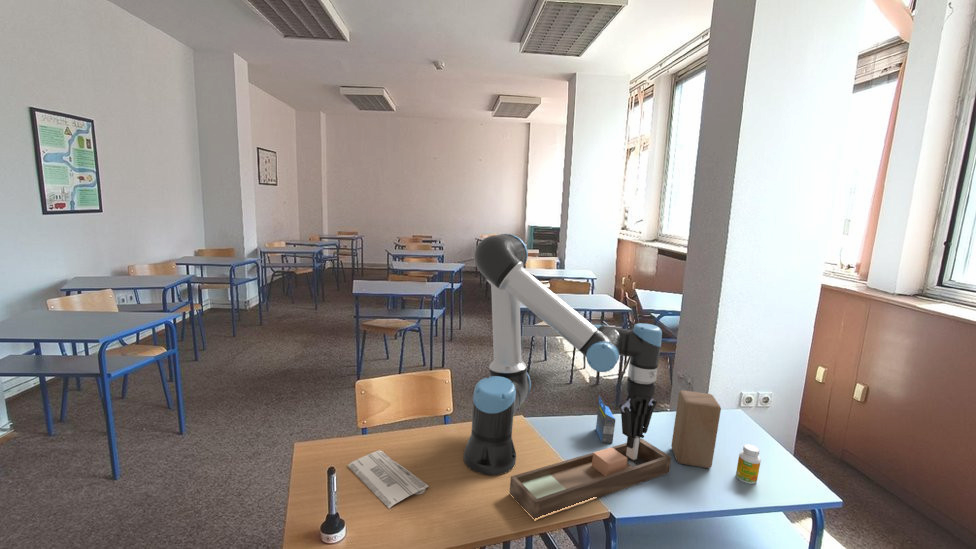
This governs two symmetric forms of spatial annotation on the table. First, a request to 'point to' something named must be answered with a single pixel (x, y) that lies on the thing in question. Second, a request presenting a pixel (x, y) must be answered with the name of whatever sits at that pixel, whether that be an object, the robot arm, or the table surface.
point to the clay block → (609, 461)
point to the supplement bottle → (748, 464)
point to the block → (695, 428)
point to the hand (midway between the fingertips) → (631, 456)
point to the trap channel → (584, 479)
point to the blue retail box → (605, 423)
